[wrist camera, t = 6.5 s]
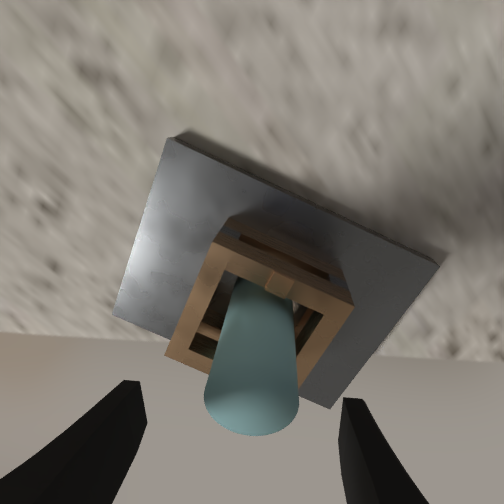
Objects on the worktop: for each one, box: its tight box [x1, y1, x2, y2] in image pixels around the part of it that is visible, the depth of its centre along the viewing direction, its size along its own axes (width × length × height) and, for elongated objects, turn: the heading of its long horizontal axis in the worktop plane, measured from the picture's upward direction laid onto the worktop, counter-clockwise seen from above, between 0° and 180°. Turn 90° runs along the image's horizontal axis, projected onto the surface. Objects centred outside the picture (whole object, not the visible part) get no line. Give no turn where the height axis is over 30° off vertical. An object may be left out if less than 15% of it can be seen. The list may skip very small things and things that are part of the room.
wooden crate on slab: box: [112, 137, 440, 409], centre depth 18 cm, size 16×12×5 cm
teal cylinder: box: [204, 277, 299, 436], centre depth 15 cm, size 4×4×8 cm
